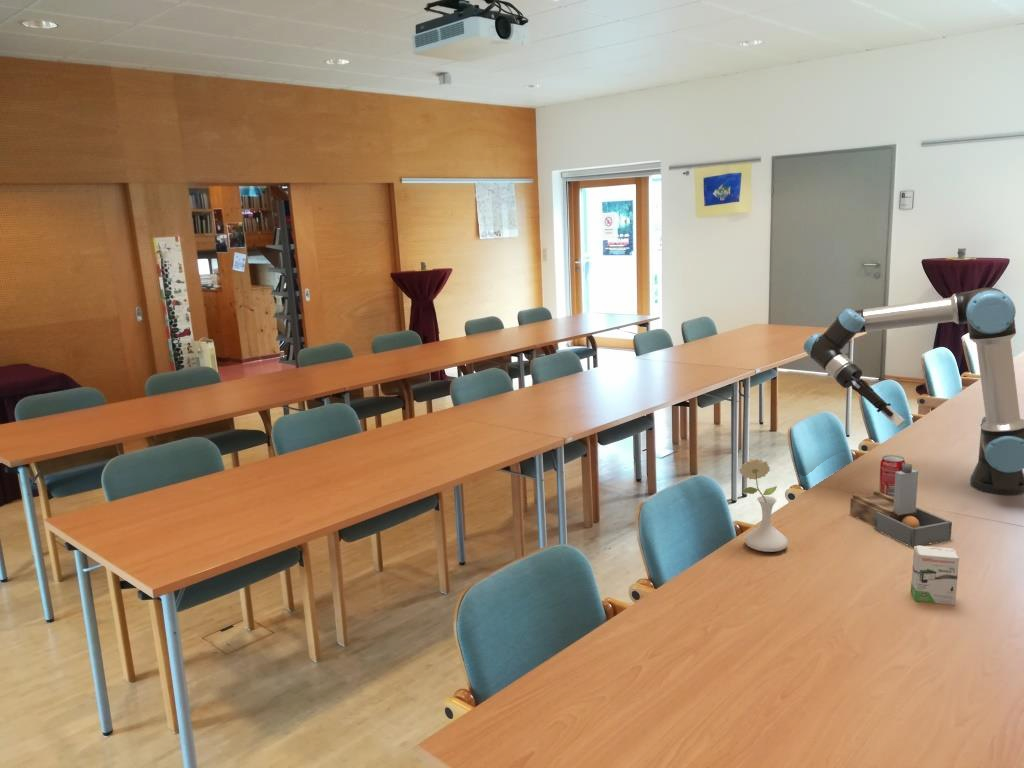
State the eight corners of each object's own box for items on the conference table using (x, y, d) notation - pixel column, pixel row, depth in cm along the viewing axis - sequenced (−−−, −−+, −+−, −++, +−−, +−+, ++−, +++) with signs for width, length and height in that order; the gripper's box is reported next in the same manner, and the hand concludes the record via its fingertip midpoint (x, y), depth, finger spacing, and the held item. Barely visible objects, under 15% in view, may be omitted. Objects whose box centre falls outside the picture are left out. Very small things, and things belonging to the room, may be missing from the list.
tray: (874, 528, 215) (875, 512, 214) (911, 522, 219) (912, 505, 218) (912, 547, 202) (913, 529, 201) (950, 539, 206) (951, 522, 205)
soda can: (907, 501, 234) (909, 461, 231) (882, 501, 235) (884, 461, 233) (900, 493, 241) (902, 454, 238) (876, 493, 242) (878, 454, 239)
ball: (925, 526, 209) (913, 524, 214) (917, 513, 209) (905, 511, 213) (915, 536, 208) (903, 534, 212) (907, 523, 208) (895, 521, 212)
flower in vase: (790, 541, 210) (792, 455, 205) (785, 558, 200) (788, 468, 195) (741, 535, 215) (742, 451, 210) (734, 551, 205) (736, 463, 200)
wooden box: (850, 514, 227) (850, 495, 225) (877, 509, 229) (878, 490, 228) (887, 532, 213) (888, 512, 211) (916, 527, 215) (917, 507, 214)
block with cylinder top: (892, 512, 213) (895, 464, 210) (909, 509, 214) (912, 462, 211) (899, 515, 211) (901, 467, 208) (916, 512, 212) (919, 464, 209)
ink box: (914, 601, 175) (917, 553, 172) (910, 591, 179) (913, 544, 177) (956, 605, 172) (960, 557, 170) (951, 595, 177) (954, 548, 174)
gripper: (842, 383, 246) (898, 435, 232) (828, 376, 236) (884, 429, 222) (860, 366, 243) (917, 417, 229) (846, 358, 234) (904, 411, 220)
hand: (901, 423), depth 226 cm, fingers closed
